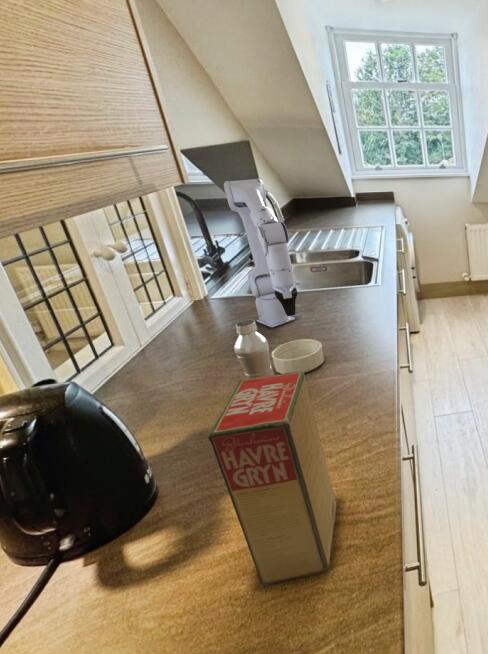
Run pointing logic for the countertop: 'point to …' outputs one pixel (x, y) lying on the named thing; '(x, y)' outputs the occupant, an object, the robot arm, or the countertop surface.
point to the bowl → (297, 356)
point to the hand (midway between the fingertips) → (291, 314)
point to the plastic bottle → (252, 350)
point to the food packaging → (277, 476)
